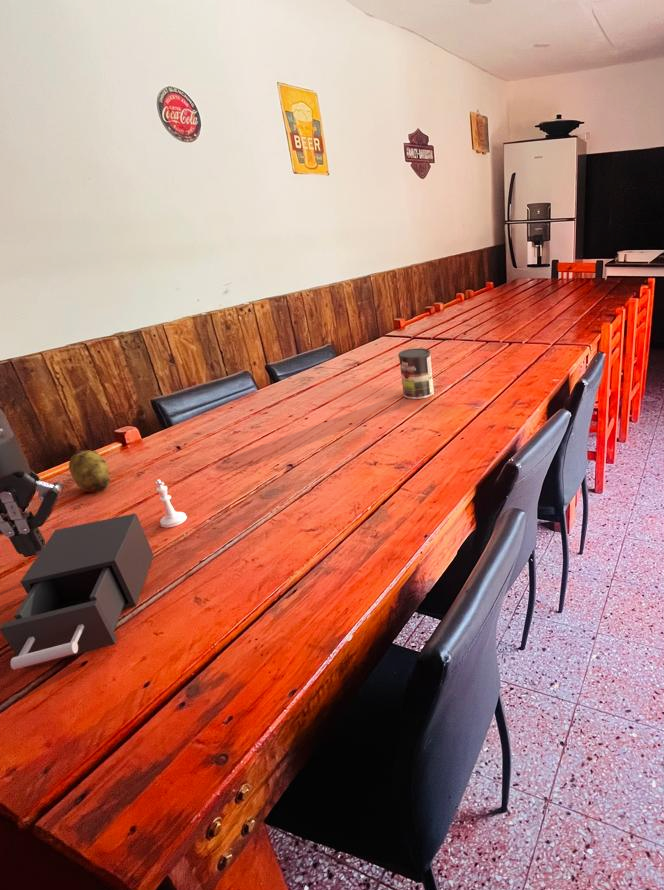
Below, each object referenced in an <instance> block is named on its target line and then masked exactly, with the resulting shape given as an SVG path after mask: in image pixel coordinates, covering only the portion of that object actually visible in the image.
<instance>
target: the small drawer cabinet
mask: <svg viewBox="0 0 664 890" xmlns="http://www.w3.org/2000/svg"><path fill="white" fill-rule="evenodd" d="M153 559H154V553H153V550H152V548H151V545H150V542H149V541H148V538H147V536H146V533H145V531H144V528H143V526H142V524H141V522H140V519H139V517H138V514H137V513H131V514H127V515H121V516H116V517H111V518H106V519H102V520H97V521H92V522H87V523H83V524H77V525H73V526H72V525H71V526H68V527H63V528H58V529H55V530H54V531H53V533H52V534H51V536H50V537H49V538H48V540H47V541H46V542H45V545H44V547H43V549H42V551H41V552H40V553H39V555H36V557H35V559H34V561H33V562H32V564H31V565H30V566H29V568H28V569H27V571H26V573H25V574H24V575H23V577H22V579H21V580H20V584H21V586H22V587H23V589H24V591H25V593H26V595H28V593H29V592H30V590H31V588H32V587H33V585H34V584H35V583H36V582H40V581H45V580H49V579H53V578H58V577H62V576H66V575H71V574H75V573H80V572H84V571H88V570H93V569H97V568H101V567H106V566H110V565H111V566H112V568H113V570H114V572H115V574H116V576H117V579H118V581H119V583H120V585H121V587H122V589H123V591H124V593H125V595H126V601H125V603H124V606H123V608H122V610H126V609H130V608H134V607H137V605H138V602H139V599H140V596H141V593H142V591H143V587H144V585H145V581H146V579H147V576H148V574H149V571H150V567H151V564H152V561H153Z"/></svg>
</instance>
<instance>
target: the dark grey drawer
mask: <svg viewBox="0 0 664 890" xmlns="http://www.w3.org/2000/svg"><path fill="white" fill-rule="evenodd" d="M125 601H126V595H125V593H124V591H123V589H122V587H121V585H120V583H119V581H118V579H117V576H116V574H115V572H114V570H113V568H112V566H111V565H110V566H106V567H101V568H97V569H93V570H88V571H84V572H80V573H75V574H71V575H66V576H62V577H58V578H53V579H49V580H45V581H40V582H36V583H35V584H34V585H33V587H32V588H31V590H30V592H29V593H28V594H26V596H25V598H24V600H23V601H22V603H21V604H20V606H19V607H18V609H17V610H16V612H15V613H14V615H13V617H14V618H15V619H13V620H9V621H5V622H3V623H2V624H1V625H0V632H1V635H2V636H3V637H4V639H5V640H6V642H7V643H8V644H9V647H10V648H11V650H12V651H13V652H14V654H15V656H13V657H12V658H11V659H10V668H11V669H12V670H19V669H23V668H24V669H29V668H32V667H33V668H34V667H36V666H39V665H40V666H41V665H43V664H47V663H51V662H55V661H58V660H62V659H67V658H69V657H73V656H76V655H81V654H84V653H89V652H92V651H95V650H100V649H103V648H107V647H110V646H113V645H116V643H117V640H118V638H117V636H116V634H115V629H116V627H117V624H118V621H119V619H120V617H121V613H122V611H123V609H122V608H123V606H124V603H125Z"/></svg>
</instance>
